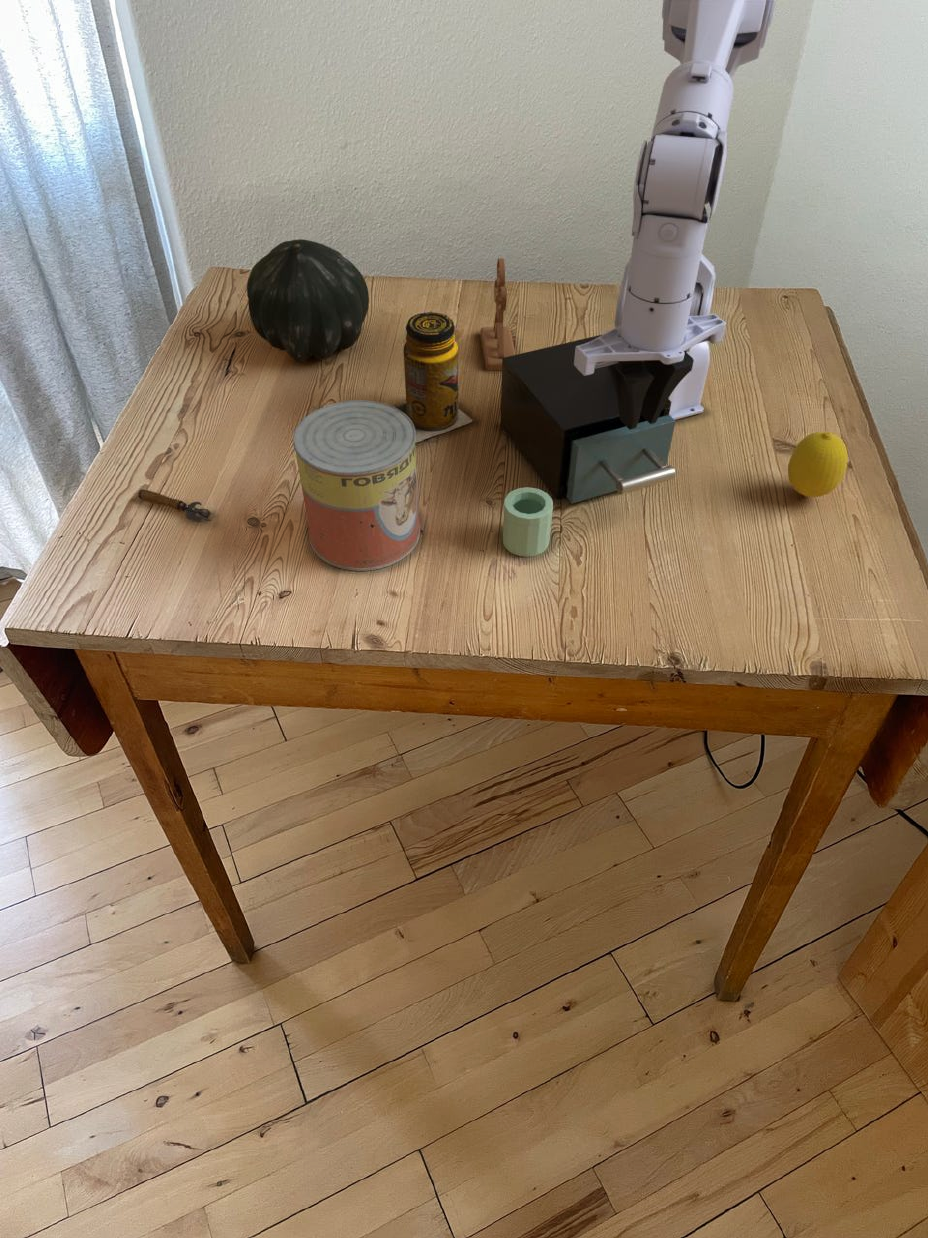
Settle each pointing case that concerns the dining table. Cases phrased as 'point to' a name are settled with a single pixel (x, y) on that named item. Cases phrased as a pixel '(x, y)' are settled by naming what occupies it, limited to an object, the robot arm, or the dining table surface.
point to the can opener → (176, 505)
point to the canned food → (359, 483)
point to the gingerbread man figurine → (497, 327)
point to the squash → (307, 299)
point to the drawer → (618, 458)
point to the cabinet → (554, 407)
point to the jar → (527, 521)
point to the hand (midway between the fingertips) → (637, 420)
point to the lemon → (817, 464)
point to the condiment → (431, 376)
